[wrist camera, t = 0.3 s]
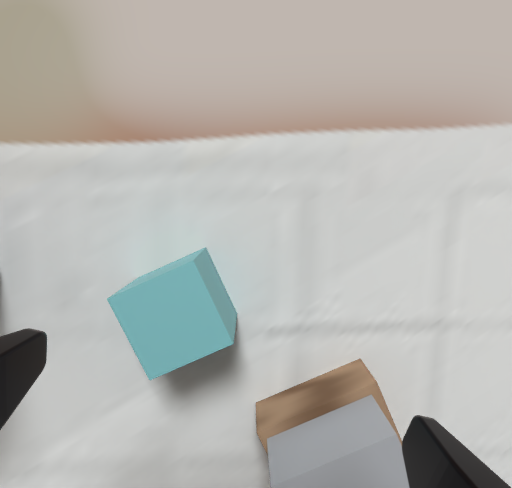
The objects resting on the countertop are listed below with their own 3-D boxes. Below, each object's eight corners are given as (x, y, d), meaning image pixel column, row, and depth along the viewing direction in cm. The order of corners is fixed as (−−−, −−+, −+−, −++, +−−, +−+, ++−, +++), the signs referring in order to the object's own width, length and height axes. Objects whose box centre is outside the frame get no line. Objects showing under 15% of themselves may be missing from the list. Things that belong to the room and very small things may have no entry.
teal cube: (171, 342, 23) (149, 380, 18) (138, 277, 23) (106, 298, 18) (237, 313, 23) (233, 343, 18) (206, 247, 22) (193, 260, 17)
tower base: (299, 489, 25) (306, 535, 22) (255, 399, 24) (256, 432, 21) (398, 448, 25) (422, 489, 21) (358, 355, 24) (376, 382, 20)
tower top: (310, 528, 22) (322, 591, 18) (266, 438, 21) (270, 486, 17) (411, 487, 21) (443, 543, 18) (371, 394, 20) (396, 434, 17)
